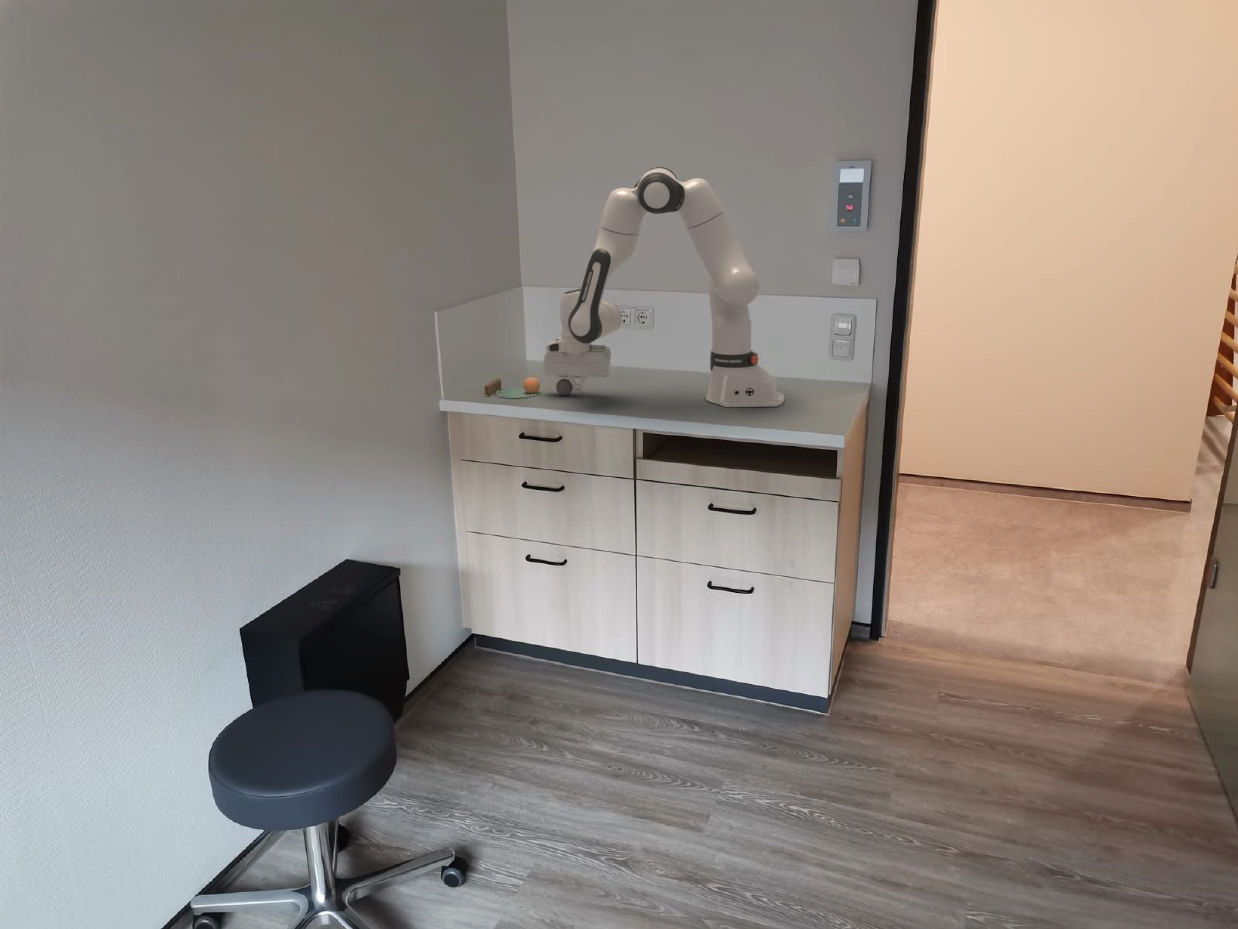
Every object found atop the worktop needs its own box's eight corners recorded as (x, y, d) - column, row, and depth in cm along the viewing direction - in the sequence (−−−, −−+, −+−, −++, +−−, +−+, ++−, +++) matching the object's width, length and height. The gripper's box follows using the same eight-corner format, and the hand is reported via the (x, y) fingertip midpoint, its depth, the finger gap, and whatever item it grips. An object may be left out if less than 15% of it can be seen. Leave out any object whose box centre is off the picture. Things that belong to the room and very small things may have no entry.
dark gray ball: (556, 378, 277) (560, 393, 278) (552, 382, 272) (556, 398, 274) (572, 375, 276) (575, 391, 277) (568, 379, 271) (572, 395, 272)
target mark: (546, 388, 284) (546, 387, 284) (532, 399, 271) (532, 399, 271) (504, 386, 287) (504, 386, 287) (488, 397, 274) (488, 397, 274)
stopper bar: (501, 388, 285) (500, 378, 284) (489, 396, 276) (489, 386, 275) (496, 388, 286) (496, 378, 285) (485, 396, 276) (484, 386, 275)
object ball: (535, 372, 278) (523, 381, 280) (530, 376, 274) (518, 385, 275) (545, 385, 279) (533, 394, 281) (540, 389, 274) (527, 398, 276)
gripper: (613, 343, 270) (614, 388, 275) (546, 341, 275) (549, 386, 279) (608, 347, 265) (609, 393, 269) (540, 345, 269) (542, 391, 274)
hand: (577, 390), depth 274 cm, fingers closed
